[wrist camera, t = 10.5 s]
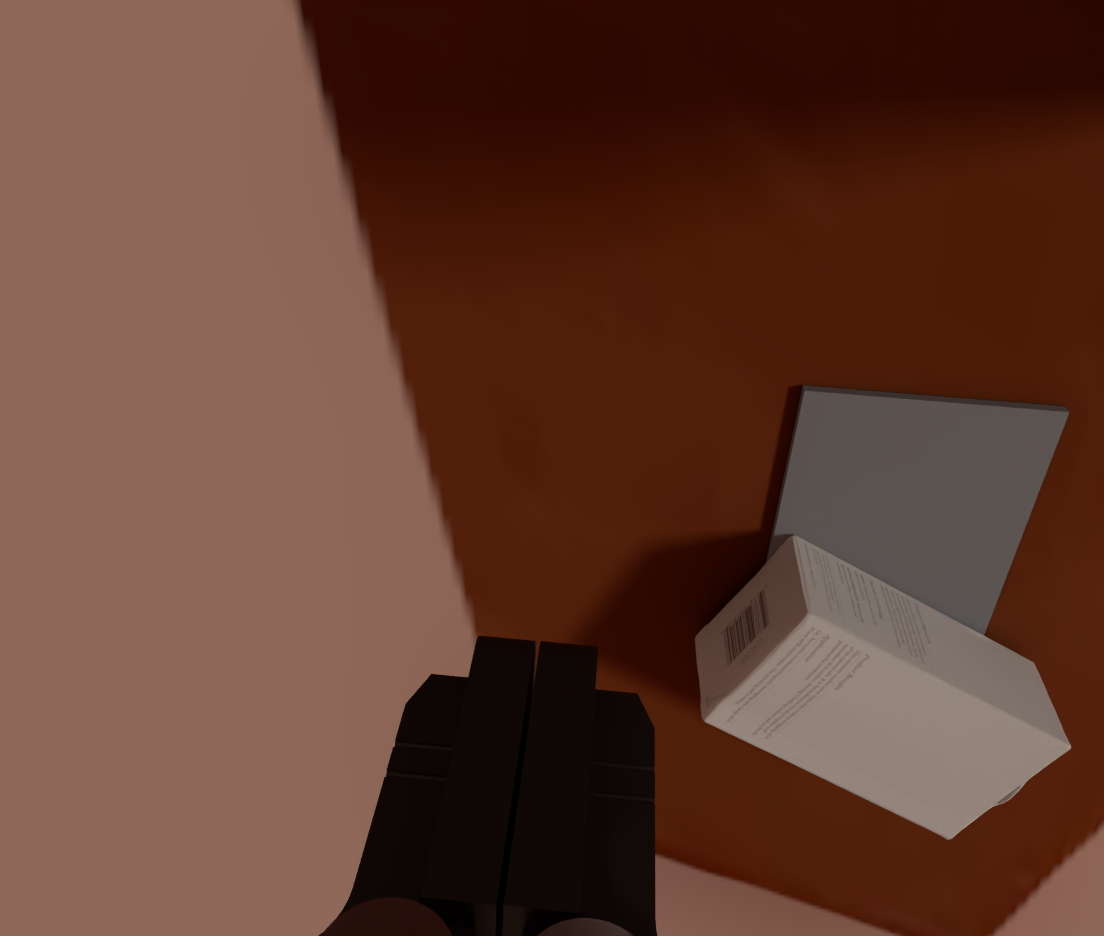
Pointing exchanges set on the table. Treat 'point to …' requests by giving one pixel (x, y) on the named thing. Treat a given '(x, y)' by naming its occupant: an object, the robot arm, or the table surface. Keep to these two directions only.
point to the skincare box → (875, 691)
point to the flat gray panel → (917, 489)
